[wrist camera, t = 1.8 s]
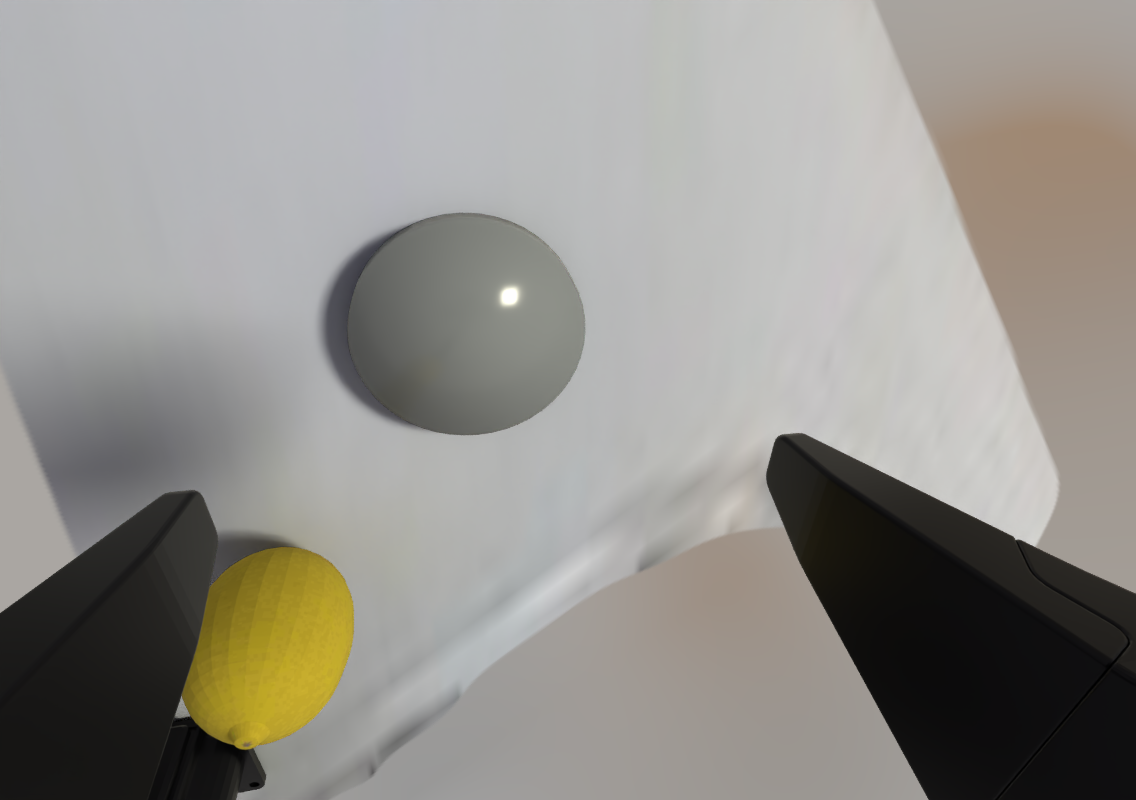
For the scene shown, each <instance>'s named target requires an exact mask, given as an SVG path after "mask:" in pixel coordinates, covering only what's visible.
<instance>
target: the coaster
mask: <svg viewBox="0 0 1136 800" xmlns="http://www.w3.org/2000/svg"><path fill="white" fill-rule="evenodd" d="M347 336H348V344H349V350H350V353H351V357H352V361H353V363H354V365H355V368H356V370H357V372H358V375H359V376H360V378H361V379H362V381H363V383H364V384H365V386H366V387H367V388H368V390H369V391H370V392H371V393H372V395H373V396H374V397H375V398H376V399H377V400H378V401H379V402H380V403H381V404H382V405H383V406H385V407H386V408H387V409H388V410H390V411H391V412H393V413H394V414H395V415H397V416H398V417H400V418H402V419H404V420H406V421H407V422H409V423H412V424H414V425H416V426H419V427H421V428H424V429H428V430H431V431H435V432H439V433H445V434H453V435H479V434H486V433H492V432H496V431H500V430H504V429H507V428H510V427H512V426H515V425H518V424H520V423H522V422H524V421H526V420H528V419H530V418H531V417H533V416H534V415H536V414H537V413H539V412H540V411H542V410H543V409H544V408H546V407H547V406H548V405H549V404H550V403H551V402H553V401H554V399H555V398H556V397H557V396H558V395H559V394H560V393H561V392H562V391H563V389H564V388H565V387H566V385H567V384H568V382H569V381H570V379H571V377H572V376H573V374H574V372H575V370H576V368H577V365H578V363H579V360H580V358H581V354H582V350H583V346H584V338H585V316H584V311H583V305H582V302H581V299H580V295H579V292H578V290H577V288H576V286H575V284H574V282H573V280H572V278H571V276H570V274H569V272H568V271H567V269H566V267H565V266H564V264H563V263H562V261H561V260H560V258H559V257H558V256H557V255H556V253H555V252H554V251H553V250H552V249H551V248H550V247H549V246H548V245H547V244H546V243H545V242H544V241H542V240H541V239H540V238H539V237H538V236H536V235H535V234H533V233H532V232H530V231H528V230H527V229H525V228H524V227H522V226H519V225H517V224H515V223H513V222H510V221H508V220H505V219H501V218H498V217H495V216H490V215H484V214H478V213H454V214H444V215H440V216H436V217H431V218H428V219H425V220H422V221H420V222H417V223H414V224H412V225H410V226H409V227H407V228H405V229H403V230H401V231H399V232H398V233H397V234H395V235H394V236H393V237H391V238H390V239H389V240H387V241H386V242H385V243H384V244H383V245H382V246H381V247H380V248H379V249H378V250H377V251H376V252H375V253H374V254H373V256H372V257H371V258H370V260H369V261H368V262H367V264H366V265H365V267H364V269H363V271H362V273H361V275H360V276H359V278H358V281H357V284H356V287H355V290H354V293H353V296H352V300H351V303H350V309H349V314H348V323H347Z"/></svg>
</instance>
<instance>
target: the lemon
mask: <svg viewBox="0 0 1136 800" xmlns="http://www.w3.org/2000/svg"><path fill="white" fill-rule="evenodd" d="M353 634H354V609H353V601H352V597H351V594H350V591H349V589H348V586H347V584H346V582H345V579H344V578H343V576H342V575H341V573H340V572H339V571H338V570H337V569H336V568H335V566H334V565H333V564H332V563H330V562H329V561H328V560H326V559H325V558H323V557H322V556H320V555H318V554H316V553H313V552H311V551H308V550H305V549H300V548H295V547H278V548H272V549H265V550H262V551H260V552H257V553H254V554H251V555H249V556H247V557H245V558H243V559H242V560H240V561H238V562H237V563H235V564H233V565H232V566H230V567H229V568H228V569H227V570H226V571H225V572H223V573H222V574H221V575H220V577H219V578H218V579H217V580H216V581H215V582H214V583H213V584H212V585H211V586H210V588H209V592H208V597H207V603H206V608H205V613H204V618H203V623H202V628H201V632H200V637H199V641H198V645H197V648H196V652H195V655H194V659H193V662H192V665H191V668H190V671H189V674H188V677H187V680H186V683H185V686H184V689H183V692H182V698H183V701H184V703H185V706H186V708H187V710H188V712H189V714H190V716H191V717H192V719H193V720H194V721H195V723H196V724H198V725H199V726H200V727H201V728H202V729H203V730H204V731H205V732H206V733H207V734H209V735H211V736H212V737H214V738H216V739H218V740H220V741H222V742H225V743H228V744H232V745H235V746H236V747H237V748H239V749H252V748H254V747H256V746H257V745H264V744H267V743H271V742H274V741H277V740H280V739H282V738H284V737H286V736H289V735H291V734H292V733H294V732H296V731H297V730H299V729H300V728H302V727H303V726H305V725H306V724H307V723H308V722H310V721H311V720H312V719H313V718H314V717H315V716H316V715H317V714H318V713H319V712H320V711H321V709H322V708H323V707H324V706H325V705H326V703H327V702H328V701H329V699H330V698H331V696H332V695H333V693H334V691H335V689H336V687H337V685H338V683H339V681H340V678H341V676H342V673H343V671H344V668H345V666H346V663H347V660H348V657H349V654H350V650H351V647H352V641H353Z"/></svg>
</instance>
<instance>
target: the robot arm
mask: <svg viewBox="0 0 1136 800" xmlns="http://www.w3.org/2000/svg"><path fill="white" fill-rule="evenodd" d="M766 480H767V485H768V488H769V491H770V493H771V496H772V498H773V500H774V503H775V505H776V508H777V510H778V513H779V515H780V517H781V520H782V522H783V525H784V527H785V529H786V532H787V534H788V536H789V539H790V542H791V544H792V546H793V549H794V551H795V553H796V556H797V558H798V560H799V562H800V564H801V566H802V568H803V570H804V572H805V574H806V576H807V577H808V580H809V581H810V583H811V585H812V587H813V589H814V591H815V592H816V594H817V596H818V598H819V600H820V602H821V603H822V605H823V607H824V609H825V610H826V612H827V614H828V616H829V618H830V620H831V622H832V624H833V625H834V627H835V629H836V631H837V633H838V635H839V636H840V638H841V640H842V642H843V644H844V646H845V647H846V649H847V651H848V653H849V655H850V657H851V658H852V660H853V662H854V664H855V666H856V667H857V669H858V671H859V673H860V675H861V677H862V678H863V680H864V682H865V684H866V686H867V688H868V689H869V691H870V693H871V695H872V697H873V699H874V700H875V702H876V704H877V706H878V708H879V710H880V711H881V713H882V715H883V717H884V719H885V721H886V723H887V724H888V726H889V728H890V730H891V732H892V734H893V735H894V737H895V739H896V741H897V743H898V744H899V746H900V748H901V750H902V752H903V754H904V755H905V757H906V759H907V761H908V763H909V765H910V766H911V768H912V770H913V772H914V774H915V776H916V777H917V779H918V781H919V783H920V785H921V787H922V788H923V790H924V792H925V794H926V796H927V798H928V799H929V800H1136V593H1133V592H1131V591H1129V590H1126V589H1124V588H1122V587H1120V586H1118V585H1115V584H1113V583H1111V582H1109V581H1106V580H1104V579H1102V578H1099V577H1097V576H1095V575H1093V574H1091V573H1088V572H1086V571H1084V570H1082V569H1079V568H1077V567H1076V566H1073V565H1071V564H1069V563H1067V562H1065V561H1063V560H1061V559H1059V558H1057V557H1054V556H1052V555H1050V554H1048V553H1046V552H1044V551H1042V550H1040V549H1038V548H1036V547H1034V546H1032V545H1030V544H1028V543H1026V542H1024V541H1022V540H1015V538H1014V537H1013V536H1011V535H1009V534H1007V533H1005V532H1003V531H1001V530H999V529H997V528H995V527H993V526H991V525H989V524H987V523H985V522H983V521H981V520H979V519H977V518H975V517H973V516H971V515H968V514H966V513H964V512H962V511H960V510H958V509H956V508H954V507H952V506H950V505H948V504H946V503H944V502H942V501H940V500H938V499H936V498H934V497H932V496H930V495H928V494H926V493H924V492H922V491H920V490H918V489H915V488H913V487H911V486H909V485H907V484H905V483H903V482H901V481H899V480H897V479H895V478H893V477H891V476H889V475H887V474H885V473H883V472H881V471H879V470H877V469H875V468H873V467H871V466H869V465H867V464H865V463H863V462H860V461H858V460H856V459H854V458H852V457H850V456H848V455H846V454H844V453H842V452H840V451H838V450H836V449H834V448H832V447H830V446H828V445H826V444H824V443H822V442H820V441H818V440H816V439H814V438H812V437H810V436H808V435H806V434H803V433H793V434H782V435H780V436H778V437H777V438H776V440H775V442H774V446H773V449H772V453H771V457H770V461H769V465H768V468H767V473H766ZM217 546H218V536H217V531H216V528H215V526H214V523H213V521H212V518H211V516H210V513H209V511H208V508H207V506H206V503H205V501H204V498H203V496H202V495H201V494H200V493H199V492H198V491H195V490H188V491H177V492H169V493H165V494H163V495H162V496H160V497H159V498H157V499H156V500H155V501H153V502H152V503H151V504H149V505H148V506H147V507H145V508H144V509H142V510H141V511H140V512H138V513H137V514H136V515H134V516H133V517H131V518H130V519H129V520H127V521H126V522H125V523H123V524H122V525H120V526H119V527H118V528H116V529H115V530H114V531H112V532H111V533H109V534H108V535H107V536H105V537H104V538H103V539H101V540H100V541H99V542H97V543H96V544H94V545H93V546H92V547H90V548H89V549H88V550H86V551H85V552H83V553H82V554H81V555H79V556H78V557H77V558H75V559H74V560H72V561H71V562H70V563H68V564H67V565H66V566H64V567H63V568H61V569H60V570H59V571H57V572H56V573H55V574H53V575H52V576H51V577H49V578H48V579H46V580H45V581H44V582H42V583H41V584H40V585H38V586H37V587H35V588H34V589H33V590H31V591H30V592H29V593H27V594H26V595H24V596H23V597H22V598H20V599H19V600H18V601H16V602H15V603H13V604H12V605H11V606H9V607H8V608H7V609H5V610H4V611H2V612H1V613H0V800H236V798H237V794H238V793H240V792H245V791H251V790H256V789H260V788H262V787H263V786H264V785H265V780H266V774H265V772H264V770H263V768H262V766H261V764H260V762H259V760H258V758H257V755H256V753H255V751H254V749H253V748H252V749H239V748H237V747H236V746H235V745H232V744H228V743H225V742H222V741H220V740H218V739H216V738H214V737H212V736H211V735H209V734H207V733H206V732H205V731H204V730H203V729H202V728H201V727H200V726H199V725H198V724H196V723H195V721H194V720H193V719H191V720H185V721H178V722H173V720H174V717H175V714H176V711H177V708H178V705H179V702H180V699H181V696H182V692H183V689H184V686H185V683H186V680H187V677H188V674H189V671H190V668H191V665H192V662H193V659H194V655H195V652H196V648H197V645H198V641H199V637H200V632H201V628H202V623H203V618H204V613H205V608H206V603H207V597H208V592H209V587H210V582H211V577H212V572H213V567H214V562H215V557H216V551H217Z"/></svg>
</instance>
